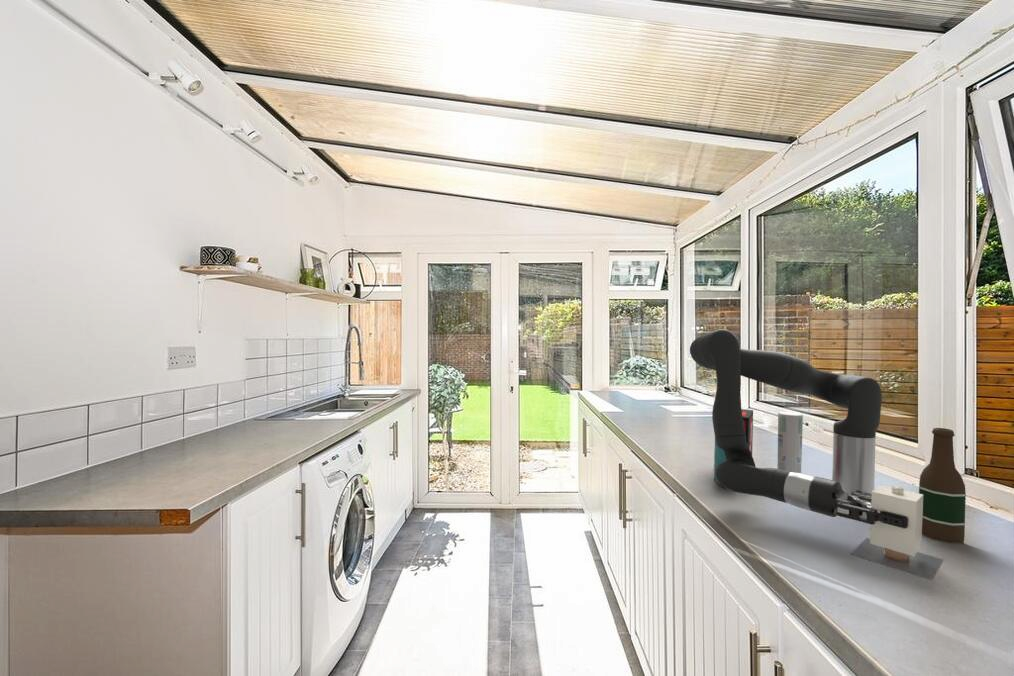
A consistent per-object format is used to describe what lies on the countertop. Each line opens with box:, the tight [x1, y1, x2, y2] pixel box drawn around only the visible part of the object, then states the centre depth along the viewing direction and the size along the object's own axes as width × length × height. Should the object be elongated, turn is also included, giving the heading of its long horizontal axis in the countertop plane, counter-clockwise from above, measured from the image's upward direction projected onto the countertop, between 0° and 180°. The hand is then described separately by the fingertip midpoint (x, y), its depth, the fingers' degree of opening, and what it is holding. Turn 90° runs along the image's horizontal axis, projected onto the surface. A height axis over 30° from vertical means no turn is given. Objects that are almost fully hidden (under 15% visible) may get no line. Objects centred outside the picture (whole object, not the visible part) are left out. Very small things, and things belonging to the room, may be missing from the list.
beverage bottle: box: [713, 435, 726, 484], centre depth 133 cm, size 6×7×20 cm
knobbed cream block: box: [869, 484, 923, 556], centre depth 90 cm, size 7×7×11 cm
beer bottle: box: [918, 427, 967, 545], centre depth 100 cm, size 8×8×24 cm
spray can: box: [776, 411, 804, 473], centre depth 142 cm, size 6×6×20 cm
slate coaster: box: [849, 537, 944, 581], centre depth 90 cm, size 12×12×1 cm
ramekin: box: [884, 548, 909, 562], centre depth 90 cm, size 4×4×2 cm
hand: (911, 518), depth 88 cm, fingers closed on knobbed cream block, 6 cm apart
